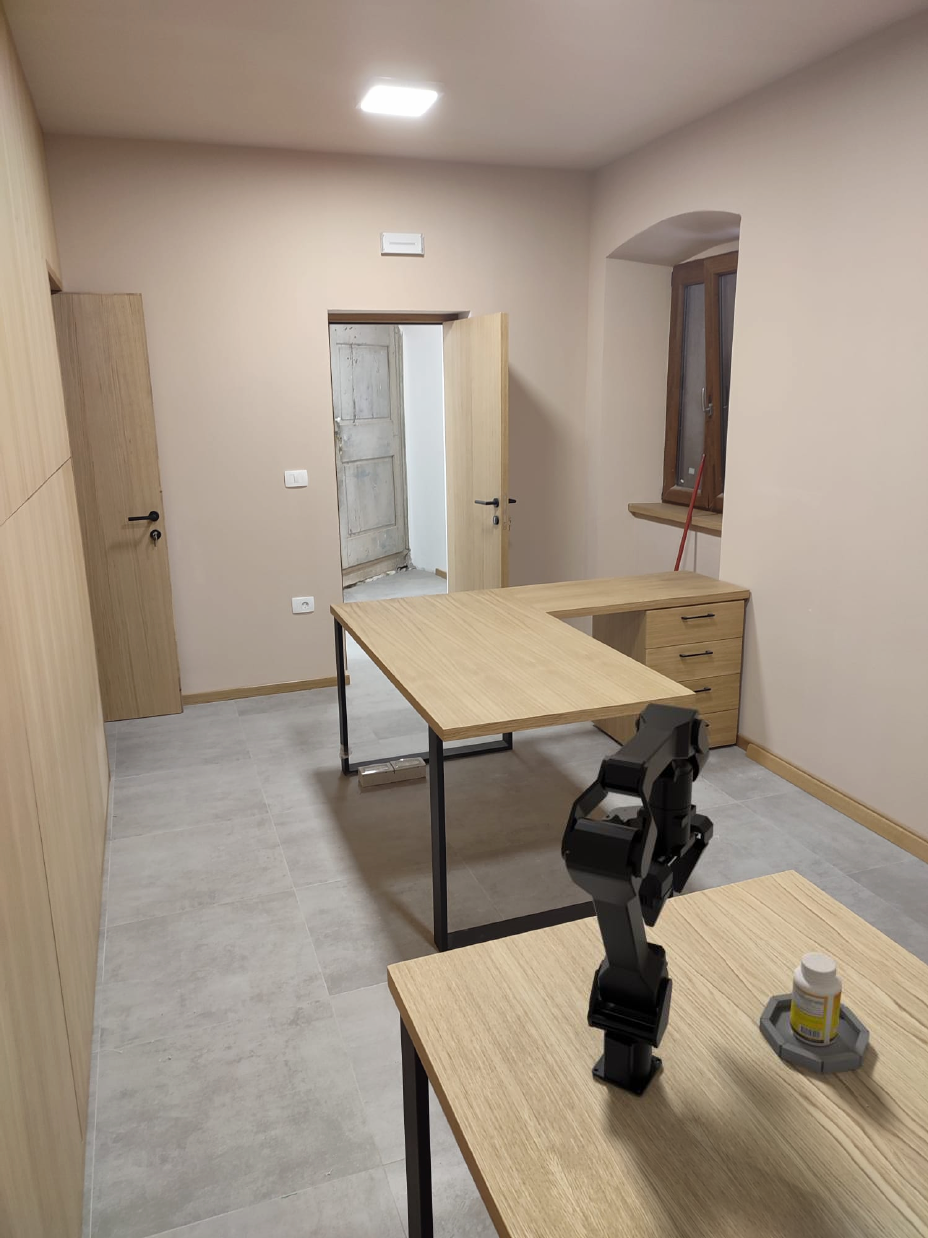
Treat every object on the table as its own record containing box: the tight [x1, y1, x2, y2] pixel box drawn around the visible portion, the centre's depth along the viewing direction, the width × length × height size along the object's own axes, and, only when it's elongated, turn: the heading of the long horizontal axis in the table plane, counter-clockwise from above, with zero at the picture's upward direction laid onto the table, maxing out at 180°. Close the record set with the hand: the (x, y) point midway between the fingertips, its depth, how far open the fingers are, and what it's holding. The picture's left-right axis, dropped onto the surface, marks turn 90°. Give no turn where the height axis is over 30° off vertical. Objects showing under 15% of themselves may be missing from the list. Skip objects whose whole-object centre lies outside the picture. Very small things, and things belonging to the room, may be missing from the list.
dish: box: [758, 992, 871, 1075], centre depth 108 cm, size 12×12×2 cm
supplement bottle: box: [790, 951, 843, 1046], centre depth 107 cm, size 6×6×10 cm
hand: (663, 908), depth 114 cm, fingers open, 9 cm apart
